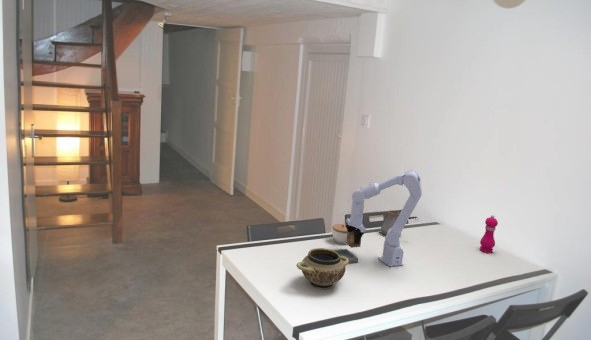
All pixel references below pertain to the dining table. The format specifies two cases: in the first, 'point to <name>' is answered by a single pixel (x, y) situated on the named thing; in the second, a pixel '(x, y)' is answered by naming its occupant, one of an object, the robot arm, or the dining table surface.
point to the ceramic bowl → (323, 267)
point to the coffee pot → (391, 221)
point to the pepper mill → (489, 235)
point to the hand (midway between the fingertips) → (353, 241)
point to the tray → (347, 255)
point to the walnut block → (351, 240)
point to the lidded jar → (340, 233)
